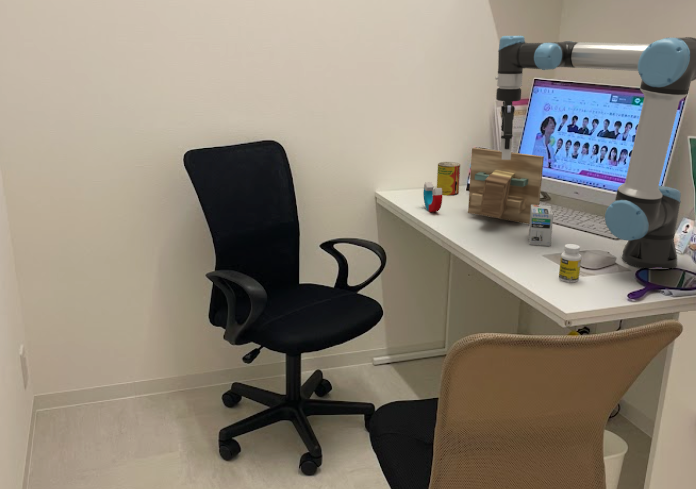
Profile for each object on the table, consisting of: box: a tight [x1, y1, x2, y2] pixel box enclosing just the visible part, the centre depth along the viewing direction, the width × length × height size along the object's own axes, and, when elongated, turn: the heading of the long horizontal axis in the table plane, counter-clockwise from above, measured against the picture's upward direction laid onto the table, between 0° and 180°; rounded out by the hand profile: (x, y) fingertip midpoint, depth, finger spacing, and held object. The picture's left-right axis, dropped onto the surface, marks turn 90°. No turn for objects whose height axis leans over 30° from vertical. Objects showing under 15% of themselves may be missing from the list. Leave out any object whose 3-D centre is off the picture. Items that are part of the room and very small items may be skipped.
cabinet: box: [480, 170, 514, 219], centre depth 240 cm, size 16×7×12 cm, turn 157°
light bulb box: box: [528, 204, 554, 247], centre depth 226 cm, size 11×7×11 cm, turn 168°
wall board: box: [467, 147, 545, 225], centre depth 247 cm, size 11×26×24 cm, turn 54°
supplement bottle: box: [558, 243, 582, 283], centre depth 194 cm, size 5×5×10 cm
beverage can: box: [436, 161, 461, 197], centre depth 285 cm, size 9×9×12 cm
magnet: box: [423, 181, 443, 213], centre depth 259 cm, size 12×3×10 cm, turn 16°
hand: (505, 155), depth 223 cm, fingers open, 13 cm apart
